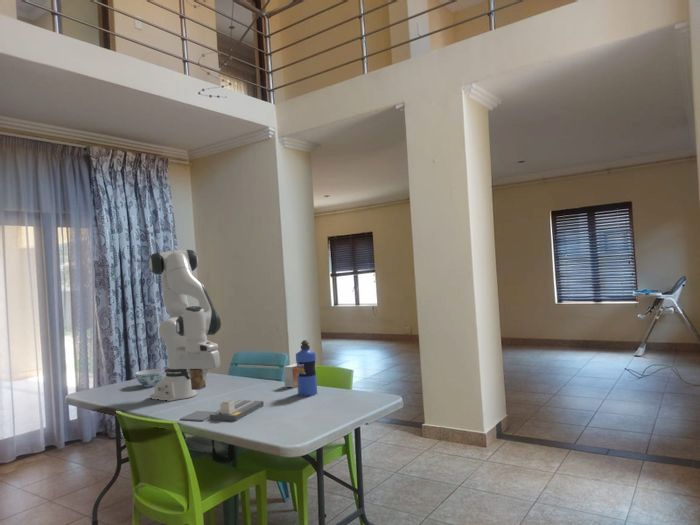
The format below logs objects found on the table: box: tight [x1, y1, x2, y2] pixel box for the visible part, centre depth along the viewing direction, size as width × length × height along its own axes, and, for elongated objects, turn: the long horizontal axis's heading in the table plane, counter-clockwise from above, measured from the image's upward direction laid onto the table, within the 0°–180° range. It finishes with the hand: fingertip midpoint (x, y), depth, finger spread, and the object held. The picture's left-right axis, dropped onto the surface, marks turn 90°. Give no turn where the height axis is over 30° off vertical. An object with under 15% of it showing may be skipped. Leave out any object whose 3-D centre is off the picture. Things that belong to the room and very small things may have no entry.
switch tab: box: [219, 399, 235, 414], centre depth 198 cm, size 4×4×4 cm
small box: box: [283, 363, 298, 389], centre depth 248 cm, size 8×6×10 cm
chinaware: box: [134, 368, 165, 388], centre depth 268 cm, size 15×15×8 cm
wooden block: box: [190, 369, 207, 391], centre depth 202 cm, size 4×4×8 cm
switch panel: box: [209, 399, 265, 422], centre depth 205 cm, size 12×22×3 cm, turn 161°
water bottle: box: [295, 339, 318, 397], centre depth 231 cm, size 9×9×25 cm
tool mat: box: [179, 410, 215, 422], centre depth 202 cm, size 11×11×1 cm
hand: (198, 379), depth 202 cm, fingers closed on wooden block, 4 cm apart
